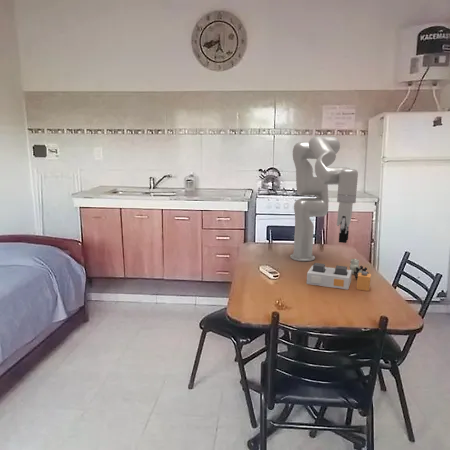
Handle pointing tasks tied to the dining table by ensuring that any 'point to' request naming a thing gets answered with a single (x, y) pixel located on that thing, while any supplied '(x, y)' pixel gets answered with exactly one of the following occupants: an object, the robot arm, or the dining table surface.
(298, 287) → the dining table surface
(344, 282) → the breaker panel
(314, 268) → the breaker
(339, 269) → the block
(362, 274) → the lockout cap
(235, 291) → the dining table surface
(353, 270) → the valve
